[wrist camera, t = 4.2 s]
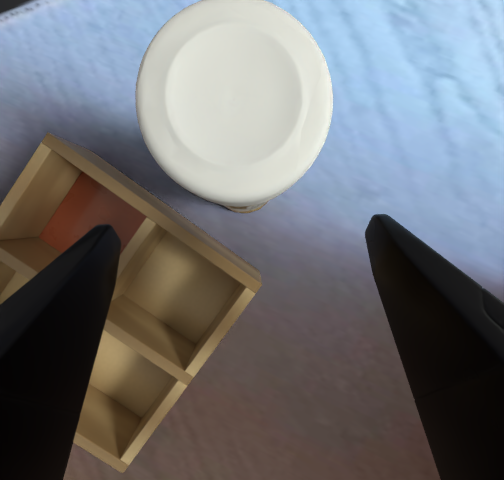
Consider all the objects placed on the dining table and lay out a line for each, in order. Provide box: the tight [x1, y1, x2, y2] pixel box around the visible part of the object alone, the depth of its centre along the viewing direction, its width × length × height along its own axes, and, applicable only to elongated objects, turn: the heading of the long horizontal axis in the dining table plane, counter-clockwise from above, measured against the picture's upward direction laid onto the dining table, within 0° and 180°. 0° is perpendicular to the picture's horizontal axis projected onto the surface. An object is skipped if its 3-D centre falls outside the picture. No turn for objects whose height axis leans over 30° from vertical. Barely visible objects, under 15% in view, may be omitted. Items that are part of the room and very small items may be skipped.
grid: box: [0, 133, 262, 473], centre depth 18 cm, size 15×15×4 cm
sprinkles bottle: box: [136, 0, 333, 213], centre depth 12 cm, size 5×5×14 cm
